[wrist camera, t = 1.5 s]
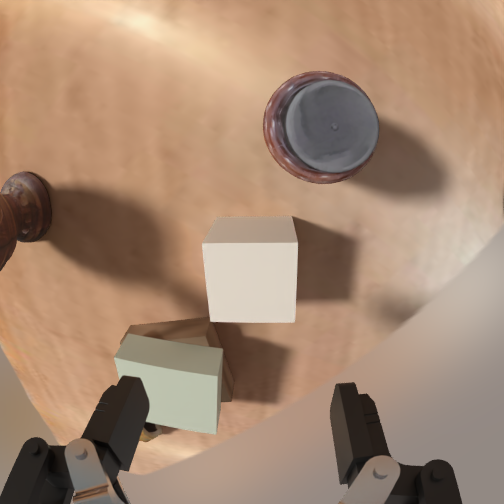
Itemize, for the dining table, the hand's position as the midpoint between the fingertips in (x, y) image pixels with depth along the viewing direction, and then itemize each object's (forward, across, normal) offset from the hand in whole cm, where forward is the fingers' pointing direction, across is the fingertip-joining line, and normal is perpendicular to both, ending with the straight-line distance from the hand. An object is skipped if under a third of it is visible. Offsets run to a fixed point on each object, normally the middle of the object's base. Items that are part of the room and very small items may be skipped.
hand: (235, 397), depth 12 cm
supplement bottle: (+16, -4, -10) cm, 19 cm away
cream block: (+16, 0, 0) cm, 16 cm away
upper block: (+13, +8, +12) cm, 19 cm away
